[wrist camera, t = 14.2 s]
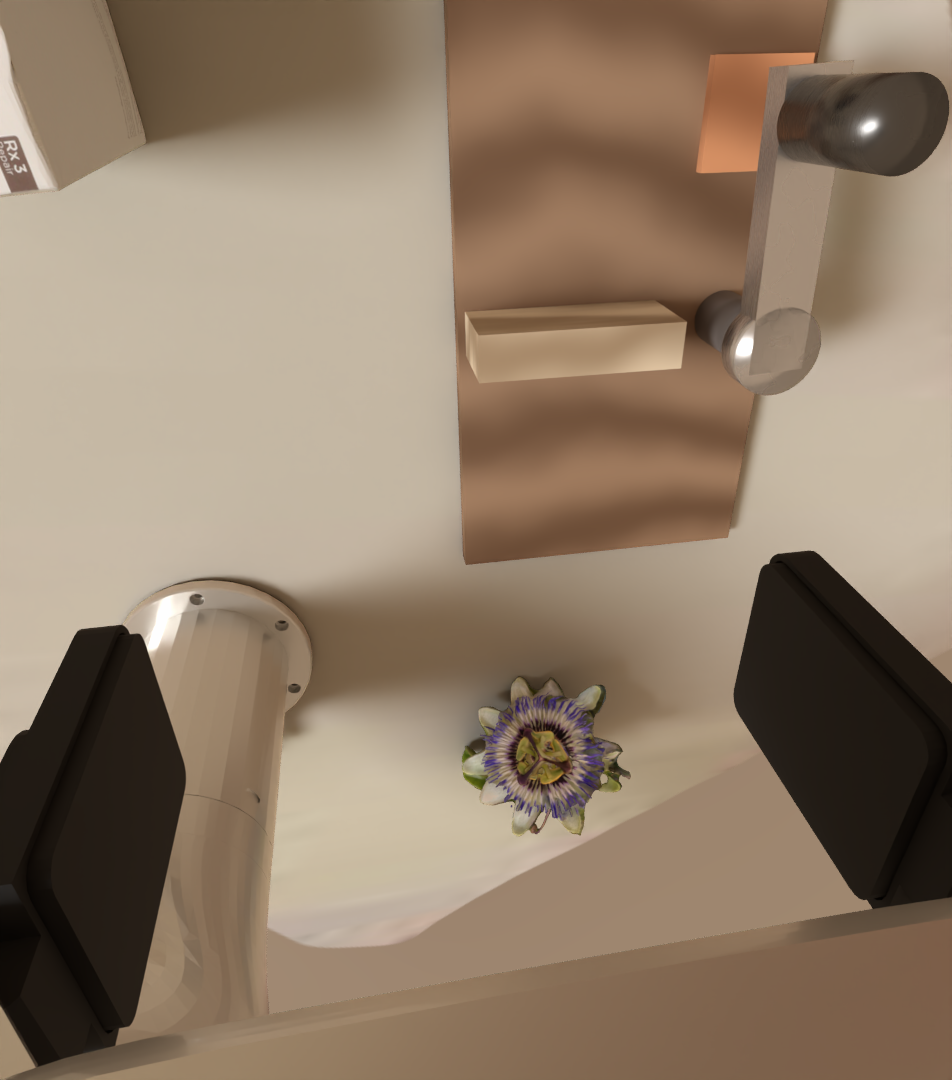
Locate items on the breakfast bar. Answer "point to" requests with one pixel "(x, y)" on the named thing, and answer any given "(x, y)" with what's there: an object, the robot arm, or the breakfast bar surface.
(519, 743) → the passion flower
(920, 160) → the crank handle
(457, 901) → the breakfast bar surface
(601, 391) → the jamb plate
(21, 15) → the skincare box
